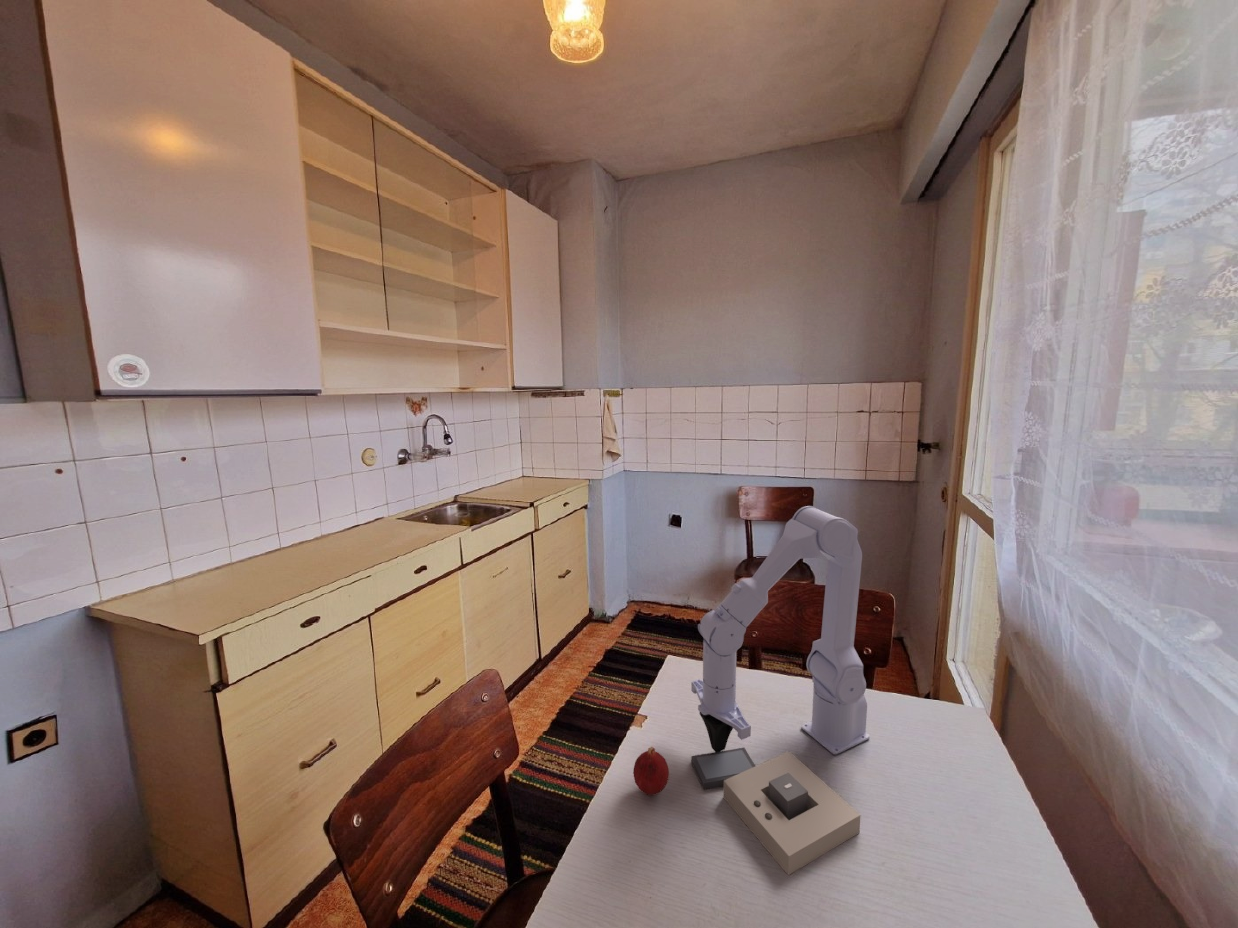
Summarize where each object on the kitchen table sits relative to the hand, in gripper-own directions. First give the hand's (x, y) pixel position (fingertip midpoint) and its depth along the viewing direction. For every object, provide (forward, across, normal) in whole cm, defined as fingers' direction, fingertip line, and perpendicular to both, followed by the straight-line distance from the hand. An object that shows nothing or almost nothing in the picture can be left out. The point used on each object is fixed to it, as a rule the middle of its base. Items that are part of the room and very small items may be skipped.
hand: (718, 748), depth 86 cm
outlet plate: (+1, +15, +2) cm, 15 cm away
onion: (+1, +2, -15) cm, 15 cm away
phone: (+2, +4, -2) cm, 4 cm away
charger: (+1, +15, +2) cm, 15 cm away
